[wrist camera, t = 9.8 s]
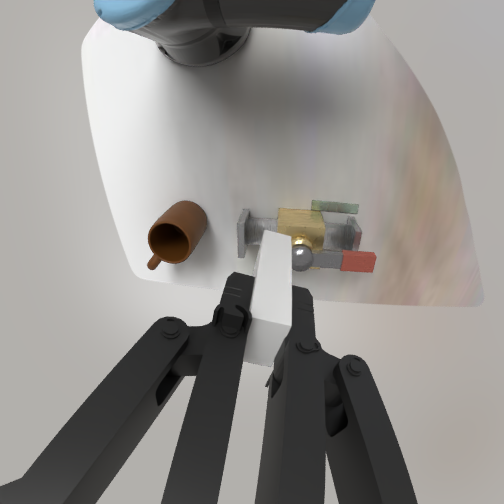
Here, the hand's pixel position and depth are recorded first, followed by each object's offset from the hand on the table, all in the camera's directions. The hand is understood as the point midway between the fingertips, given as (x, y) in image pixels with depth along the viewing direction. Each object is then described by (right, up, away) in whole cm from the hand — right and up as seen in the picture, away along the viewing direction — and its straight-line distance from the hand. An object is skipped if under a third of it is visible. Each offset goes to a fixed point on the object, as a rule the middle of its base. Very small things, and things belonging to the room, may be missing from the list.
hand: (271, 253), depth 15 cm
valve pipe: (+7, +4, +31) cm, 32 cm away
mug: (-14, +5, +34) cm, 37 cm away
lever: (+10, -1, +23) cm, 25 cm away
